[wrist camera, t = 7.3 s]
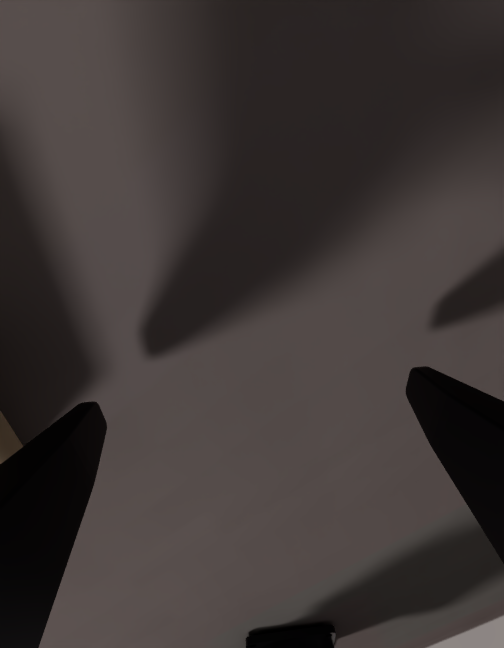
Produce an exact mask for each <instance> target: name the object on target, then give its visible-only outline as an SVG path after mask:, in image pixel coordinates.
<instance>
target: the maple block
mask: <svg viewBox="0 0 504 648" xmlns="http://www.w3.org/2000/svg"><path fill="white" fill-rule="evenodd" d="M22 447H23V445H22V444H21V442H20V440H19V439H18V437H17V436H16V434H15V433H14V431H13V430H12V428H11V426H10V425H9V423H8V422H7V420H6V419H5V417H4V416H3V414H2V412H1V411H0V464H1V463H2V462H4V461H5V460H6V459H8V458H9V457H10V456H12V455H13V454H14V453H16V452H17V451H18V450H19V449H21V448H22Z"/></svg>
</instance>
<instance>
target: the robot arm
mask: <svg viewBox="0 0 504 648" xmlns="http://www.w3.org/2000/svg"><path fill="white" fill-rule="evenodd" d="M406 396H407V398H408V400H409V403H410V405H411V407H412V409H413V411H414V413H415V415H416V417H417V419H418V421H419V423H420V425H421V427H422V429H423V431H424V433H425V435H426V437H427V439H428V441H429V443H430V445H431V447H432V448H433V450H434V452H435V453H436V455H437V457H438V458H439V460H440V461H441V463H442V465H443V466H444V468H445V470H446V471H447V473H448V474H449V476H450V478H451V479H452V481H453V482H454V484H455V486H456V487H457V489H458V491H459V492H460V494H461V495H462V497H463V499H464V500H465V502H466V503H467V505H468V507H469V508H470V510H471V512H472V513H473V515H474V516H475V518H476V520H477V521H478V523H479V524H480V526H481V528H482V529H483V531H484V533H485V534H486V536H487V537H488V539H489V541H490V542H491V544H492V545H493V547H494V549H495V550H496V552H497V554H498V555H499V557H500V558H501V560H502V562H503V563H504V401H502V400H500V399H497V398H495V397H493V396H491V395H489V394H486V393H484V392H482V391H480V390H478V389H476V388H473V387H471V386H469V385H467V384H465V383H462V382H460V381H458V380H456V379H454V378H451V377H449V376H447V375H445V374H443V373H441V372H438V371H436V370H434V369H432V368H430V367H426V366H424V367H415V368H412V369H411V371H410V374H409V378H408V382H407V386H406ZM106 430H107V424H106V420H105V418H104V416H103V413H102V411H101V409H100V406H99V404H98V403H97V402H84V403H80V404H78V405H77V406H76V407H74V408H73V409H72V410H70V411H69V412H68V413H66V414H65V415H64V416H63V417H61V418H60V419H59V420H57V421H56V422H55V423H53V424H52V425H51V426H50V427H48V428H47V429H46V430H44V431H43V432H42V433H40V434H39V435H38V436H36V437H35V438H34V439H33V440H31V441H30V442H29V443H27V444H26V445H25V446H23V447H22V448H21V449H19V450H18V451H17V452H16V453H14V454H13V455H12V456H10V457H9V458H8V459H6V460H5V461H4V462H2V463H1V464H0V648H38V647H39V644H40V641H41V638H42V636H43V633H44V630H45V627H46V624H47V621H48V618H49V615H50V612H51V609H52V606H53V603H54V600H55V597H56V595H57V592H58V589H59V586H60V583H61V580H62V577H63V574H64V571H65V568H66V565H67V562H68V559H69V557H70V554H71V551H72V548H73V545H74V542H75V539H76V536H77V533H78V530H79V527H80V524H81V521H82V518H83V516H84V513H85V510H86V507H87V504H88V501H89V498H90V495H91V492H92V489H93V486H94V482H95V478H96V474H97V470H98V466H99V461H100V457H101V452H102V448H103V444H104V439H105V435H106ZM335 637H336V632H335V628H334V626H333V625H326V626H319V627H311V628H304V629H297V630H289V631H282V632H275V633H267V634H260V635H253V636H249V637H247V638H246V648H334V641H335Z"/></svg>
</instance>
